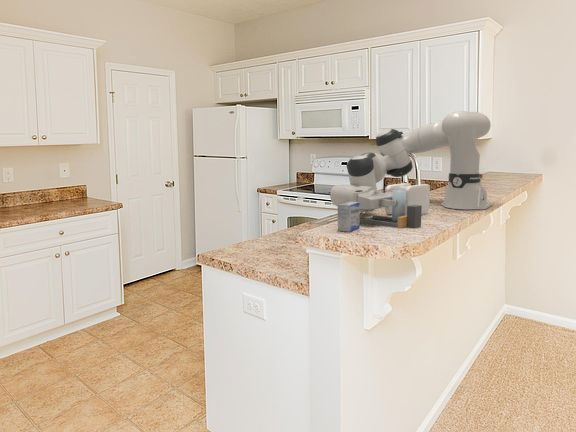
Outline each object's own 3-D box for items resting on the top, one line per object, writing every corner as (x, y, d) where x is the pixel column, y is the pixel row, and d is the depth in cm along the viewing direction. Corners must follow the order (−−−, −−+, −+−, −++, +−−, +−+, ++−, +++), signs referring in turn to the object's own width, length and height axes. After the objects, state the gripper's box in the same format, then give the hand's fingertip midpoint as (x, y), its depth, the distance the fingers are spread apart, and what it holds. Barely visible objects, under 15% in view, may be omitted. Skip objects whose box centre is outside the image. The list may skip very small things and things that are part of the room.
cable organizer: (406, 218, 169) (407, 186, 167) (383, 215, 177) (384, 184, 175) (429, 213, 179) (430, 183, 177) (406, 210, 187) (407, 182, 185)
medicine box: (349, 232, 146) (350, 205, 144) (337, 231, 148) (337, 204, 147) (359, 228, 152) (360, 202, 151) (347, 226, 155) (347, 201, 153)
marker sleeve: (396, 218, 160) (397, 189, 159) (407, 219, 157) (408, 190, 155) (389, 219, 157) (390, 190, 156) (400, 221, 154) (401, 191, 152)
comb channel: (375, 218, 170) (375, 199, 169) (425, 225, 156) (426, 204, 155) (358, 221, 163) (358, 202, 162) (409, 229, 149) (410, 207, 148)
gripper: (384, 204, 173) (417, 208, 163) (349, 210, 159) (383, 215, 149) (384, 187, 172) (417, 190, 162) (350, 192, 158) (384, 196, 148)
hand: (401, 202), depth 156 cm, fingers closed on marker sleeve, 4 cm apart
